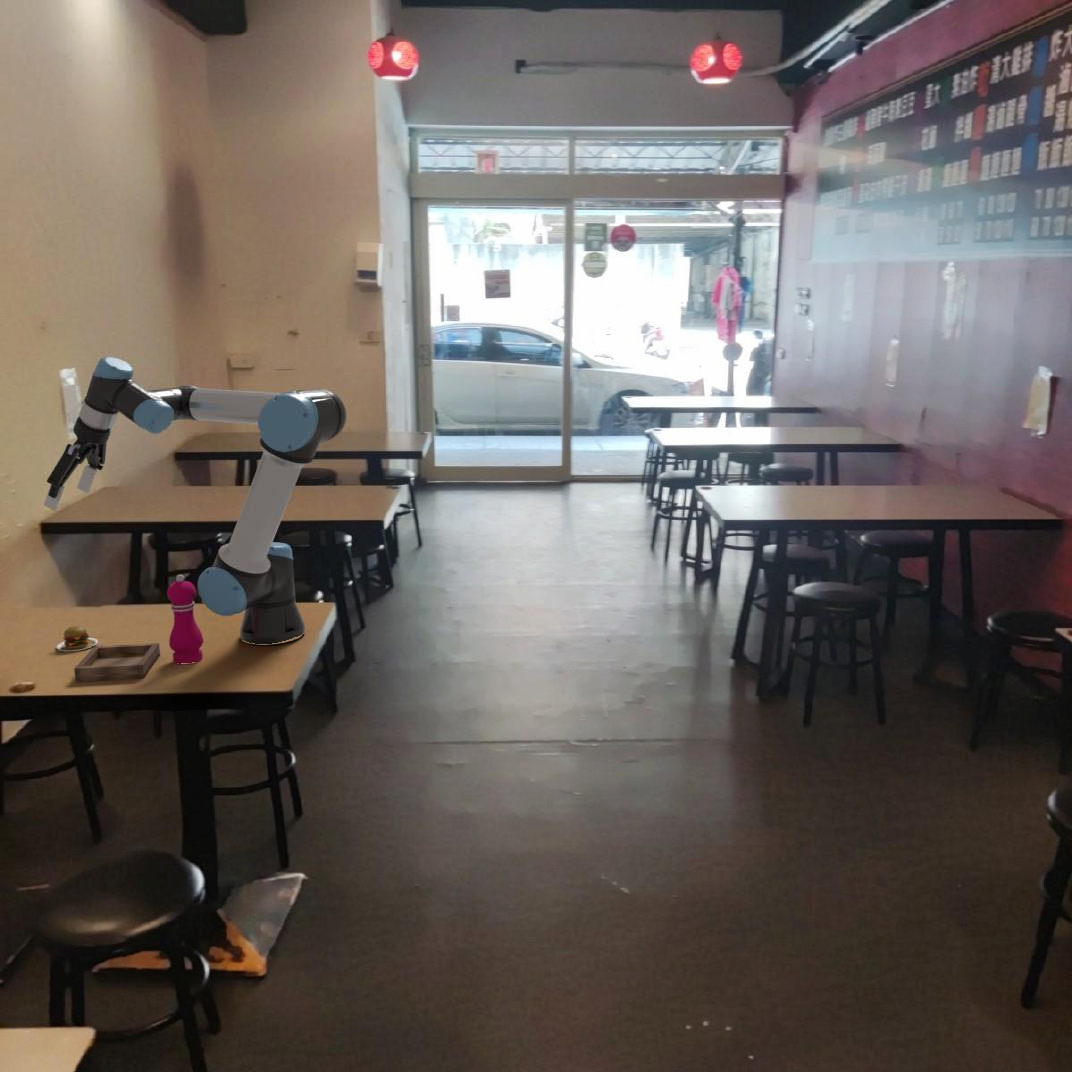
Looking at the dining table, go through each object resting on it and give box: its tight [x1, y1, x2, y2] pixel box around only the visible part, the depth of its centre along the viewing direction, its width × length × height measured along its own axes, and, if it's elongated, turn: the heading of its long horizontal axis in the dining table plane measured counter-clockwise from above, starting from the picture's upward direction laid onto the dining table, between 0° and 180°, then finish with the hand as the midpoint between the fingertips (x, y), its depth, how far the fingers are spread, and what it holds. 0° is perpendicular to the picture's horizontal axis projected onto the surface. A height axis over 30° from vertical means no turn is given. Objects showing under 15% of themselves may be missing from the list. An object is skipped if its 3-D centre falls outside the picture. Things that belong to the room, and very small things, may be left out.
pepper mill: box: [166, 574, 204, 665], centre depth 214 cm, size 7×7×20 cm
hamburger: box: [56, 625, 99, 653], centre depth 225 cm, size 12×12×6 cm
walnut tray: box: [73, 642, 161, 683], centre depth 211 cm, size 14×14×3 cm
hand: (66, 498), depth 224 cm, fingers open, 13 cm apart
